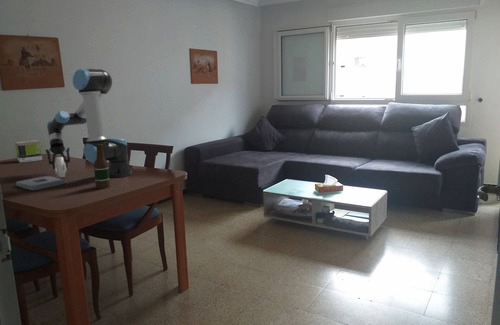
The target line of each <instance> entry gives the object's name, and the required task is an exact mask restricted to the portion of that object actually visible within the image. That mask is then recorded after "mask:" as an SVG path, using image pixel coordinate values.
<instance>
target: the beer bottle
mask: <svg viewBox="0 0 500 325" xmlns="http://www.w3.org/2000/svg"><path fill="white" fill-rule="evenodd" d="M96 147H97V159H96V161H95V163H93V170H94V171H93V172H94V183H95V188H96V189H98V190H99V189H100V190H101V189H103V190H104V189H107V188H111V181H110V180H111V179H110V178H111V177H109V167H108V165H109V162H108V161H106V160H105V158H104V153H103V144H96Z"/></svg>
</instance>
